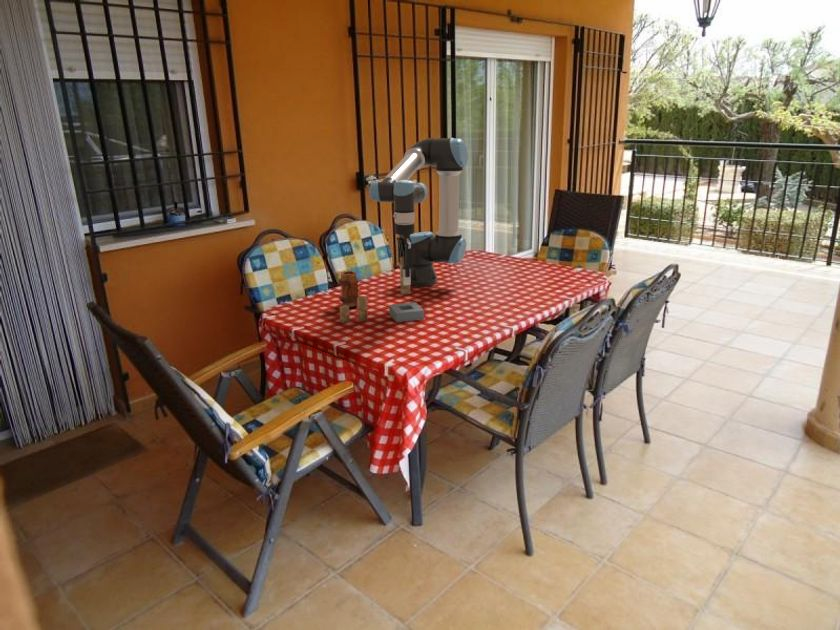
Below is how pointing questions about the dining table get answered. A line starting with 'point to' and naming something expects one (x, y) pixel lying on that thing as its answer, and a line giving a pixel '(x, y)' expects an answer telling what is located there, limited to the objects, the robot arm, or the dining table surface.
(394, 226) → the robot arm
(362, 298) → the dowel medium
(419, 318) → the hole block
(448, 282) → the dining table surface
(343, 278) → the mug
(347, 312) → the dowel short
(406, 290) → the dowel long
